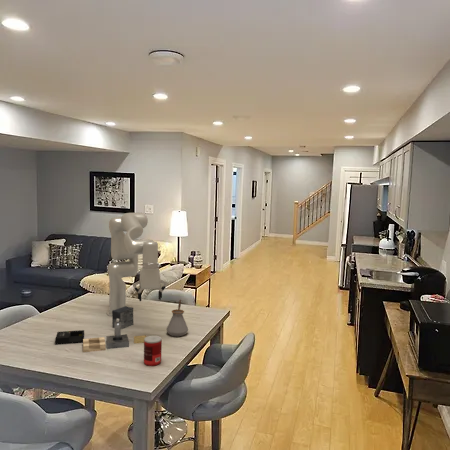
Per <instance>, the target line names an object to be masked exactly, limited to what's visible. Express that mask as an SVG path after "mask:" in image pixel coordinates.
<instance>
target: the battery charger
mask: <svg viewBox="0 0 450 450" xmlns="http://www.w3.org/2000/svg"><path fill="white" fill-rule="evenodd" d="M83 339H85V330H84V329H82V330H67V331H66V330H65V331H57V332H56V336H55V341H54V345H56V346H58V345H60V346H61V345H73V344H75V345H76V344H83Z"/></svg>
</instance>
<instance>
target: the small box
mask: <svg viewBox="0 0 450 450" xmlns="http://www.w3.org/2000/svg"><path fill="white" fill-rule="evenodd" d="M117 318H119V322H121V330H125V329H126V328H129V327H132V326H133V325H134V307H132V306H131V307H130V306H125V307H122V308H119V309H116V310H113V311H112V316H111V319H112V323H111V325H112V326H111V327H112V329H115V322H116V319H117Z"/></svg>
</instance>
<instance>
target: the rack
mask: <svg viewBox="0 0 450 450" xmlns="http://www.w3.org/2000/svg"><path fill="white" fill-rule="evenodd" d="M106 347H107V343H106V338H105V336H101V337H88V338H84V339H83V343H82V353H90V352H91V353H93V352H100V351H106Z"/></svg>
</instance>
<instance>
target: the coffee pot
mask: <svg viewBox="0 0 450 450" xmlns="http://www.w3.org/2000/svg"><path fill="white" fill-rule="evenodd" d="M182 303H183V300H182V299H179V301H178V304H177V305H178V306H177V307H178V308H177V309H173V310H171V313H172V316H171V318H170V320H169V322H168V325H167V327H166V332H167V334H169V335H170V336H172V337H176V338H177V337H183V336H184V335H186V334H187V333H188V331H189V328H188V324H187V323H186V320H185V318H184V314H185V310H183V309H181V305H182Z"/></svg>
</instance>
